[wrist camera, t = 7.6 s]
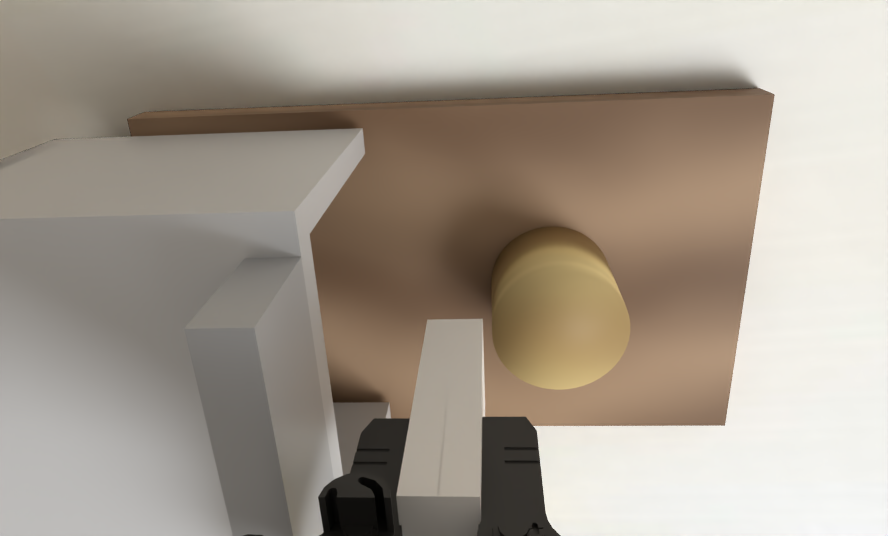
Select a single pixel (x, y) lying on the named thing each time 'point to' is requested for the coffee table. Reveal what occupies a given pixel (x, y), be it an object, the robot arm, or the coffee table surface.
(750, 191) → the pattern board
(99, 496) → the cover
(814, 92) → the coffee table surface
